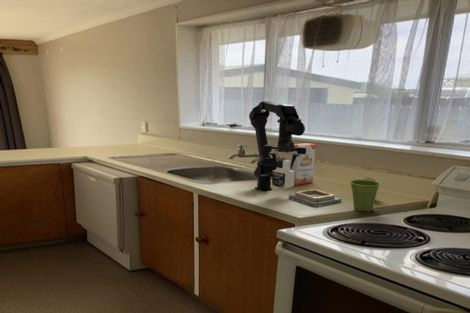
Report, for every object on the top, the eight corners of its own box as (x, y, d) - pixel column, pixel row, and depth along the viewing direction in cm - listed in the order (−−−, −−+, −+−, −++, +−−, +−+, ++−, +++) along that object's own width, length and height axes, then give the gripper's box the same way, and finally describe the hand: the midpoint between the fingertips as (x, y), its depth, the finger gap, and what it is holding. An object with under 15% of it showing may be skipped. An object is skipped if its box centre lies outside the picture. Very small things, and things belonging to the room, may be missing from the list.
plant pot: (353, 203, 167) (355, 178, 165) (381, 209, 160) (384, 182, 159) (343, 209, 157) (345, 182, 156) (373, 215, 151) (375, 187, 149)
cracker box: (296, 185, 199) (298, 145, 196) (287, 183, 204) (289, 143, 201) (313, 182, 208) (316, 143, 205) (305, 180, 213) (307, 142, 210)
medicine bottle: (271, 186, 173) (272, 159, 171) (281, 184, 178) (282, 158, 176) (284, 189, 168) (285, 161, 166) (294, 186, 173) (295, 160, 171)
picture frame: (288, 198, 173) (289, 191, 173) (314, 194, 182) (314, 187, 182) (315, 207, 160) (315, 199, 160) (341, 202, 169) (341, 195, 169)
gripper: (261, 134, 164) (260, 170, 166) (306, 136, 160) (304, 173, 162) (265, 132, 174) (263, 166, 177) (307, 134, 171) (305, 169, 173)
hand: (283, 168), depth 172 cm, fingers closed on medicine bottle, 6 cm apart
